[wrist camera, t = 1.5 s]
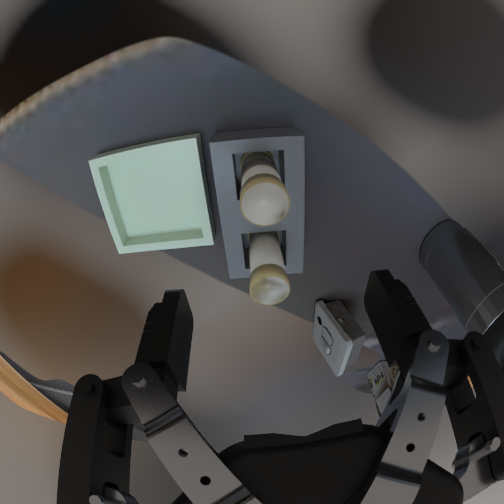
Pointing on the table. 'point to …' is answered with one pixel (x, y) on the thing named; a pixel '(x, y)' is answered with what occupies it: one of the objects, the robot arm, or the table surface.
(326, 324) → the electrical switch
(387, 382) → the coffee box
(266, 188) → the fuse
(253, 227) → the holder block
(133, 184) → the parts tray
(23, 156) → the table surface
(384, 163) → the table surface
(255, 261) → the fuse
